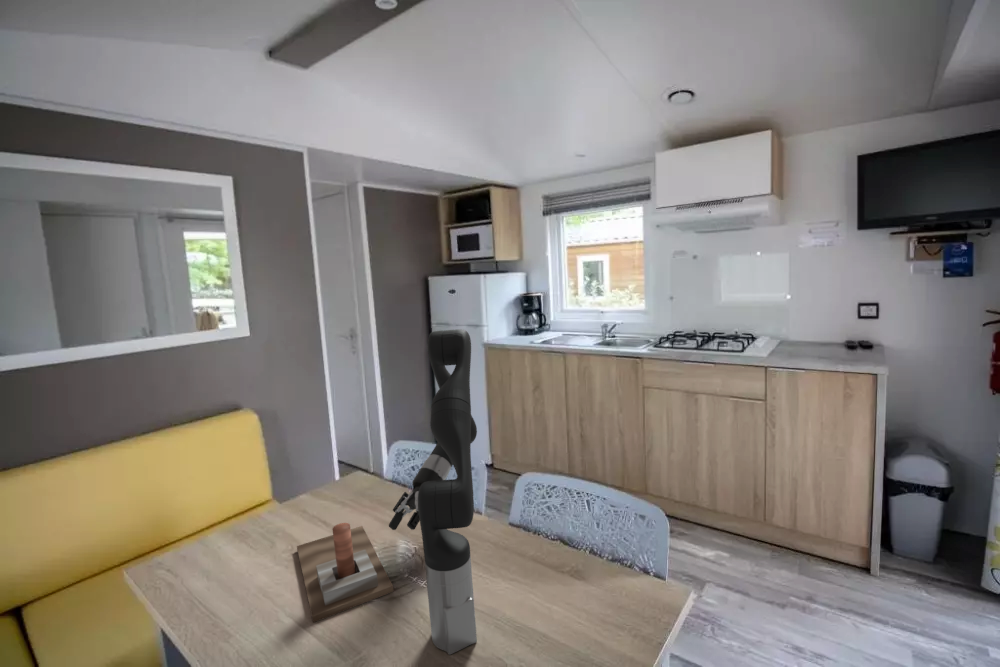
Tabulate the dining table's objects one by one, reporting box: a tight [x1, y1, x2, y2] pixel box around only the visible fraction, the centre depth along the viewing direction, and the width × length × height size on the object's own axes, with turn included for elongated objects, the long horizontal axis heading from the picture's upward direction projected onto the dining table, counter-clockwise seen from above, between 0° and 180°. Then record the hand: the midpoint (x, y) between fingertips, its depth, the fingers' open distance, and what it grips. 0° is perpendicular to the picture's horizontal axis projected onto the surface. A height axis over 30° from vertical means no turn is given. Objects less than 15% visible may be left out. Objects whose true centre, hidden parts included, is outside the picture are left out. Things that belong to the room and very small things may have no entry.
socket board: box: [296, 525, 394, 623], centre depth 121 cm, size 32×18×4 cm, turn 29°
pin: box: [332, 522, 356, 580], centre depth 113 cm, size 4×4×14 cm
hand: (400, 528), depth 119 cm, fingers open, 8 cm apart
